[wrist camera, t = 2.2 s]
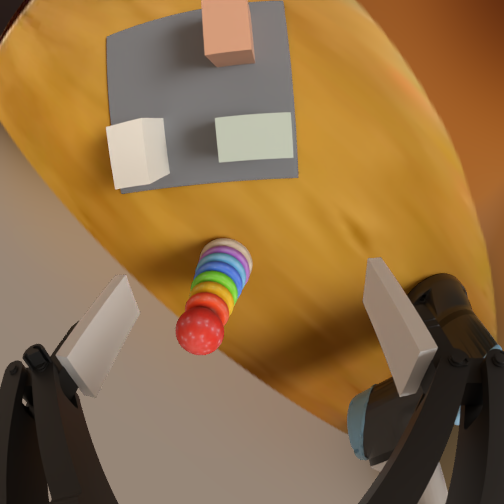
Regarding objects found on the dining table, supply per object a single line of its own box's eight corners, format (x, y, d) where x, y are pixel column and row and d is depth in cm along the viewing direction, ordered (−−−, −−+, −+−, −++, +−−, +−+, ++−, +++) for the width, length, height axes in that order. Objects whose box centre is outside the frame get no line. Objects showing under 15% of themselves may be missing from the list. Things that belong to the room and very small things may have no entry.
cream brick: (131, 125, 34) (106, 127, 28) (163, 118, 34) (141, 117, 27) (138, 178, 37) (115, 189, 31) (169, 173, 37) (150, 183, 31)
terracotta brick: (213, 18, 27) (201, -2, 21) (250, 13, 26) (245, -8, 20) (216, 67, 30) (204, 55, 24) (255, 63, 30) (251, 49, 24)
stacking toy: (234, 226, 40) (207, 304, 23) (262, 269, 43) (255, 361, 26) (191, 250, 42) (144, 331, 26) (219, 290, 45) (193, 380, 28)
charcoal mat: (282, 1, 26) (283, 0, 25) (297, 177, 37) (298, 177, 36) (108, 37, 28) (106, 36, 28) (122, 193, 39) (121, 194, 39)
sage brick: (287, 115, 33) (290, 112, 26) (289, 152, 35) (293, 157, 28) (225, 119, 33) (214, 117, 27) (228, 155, 36) (219, 162, 29)
